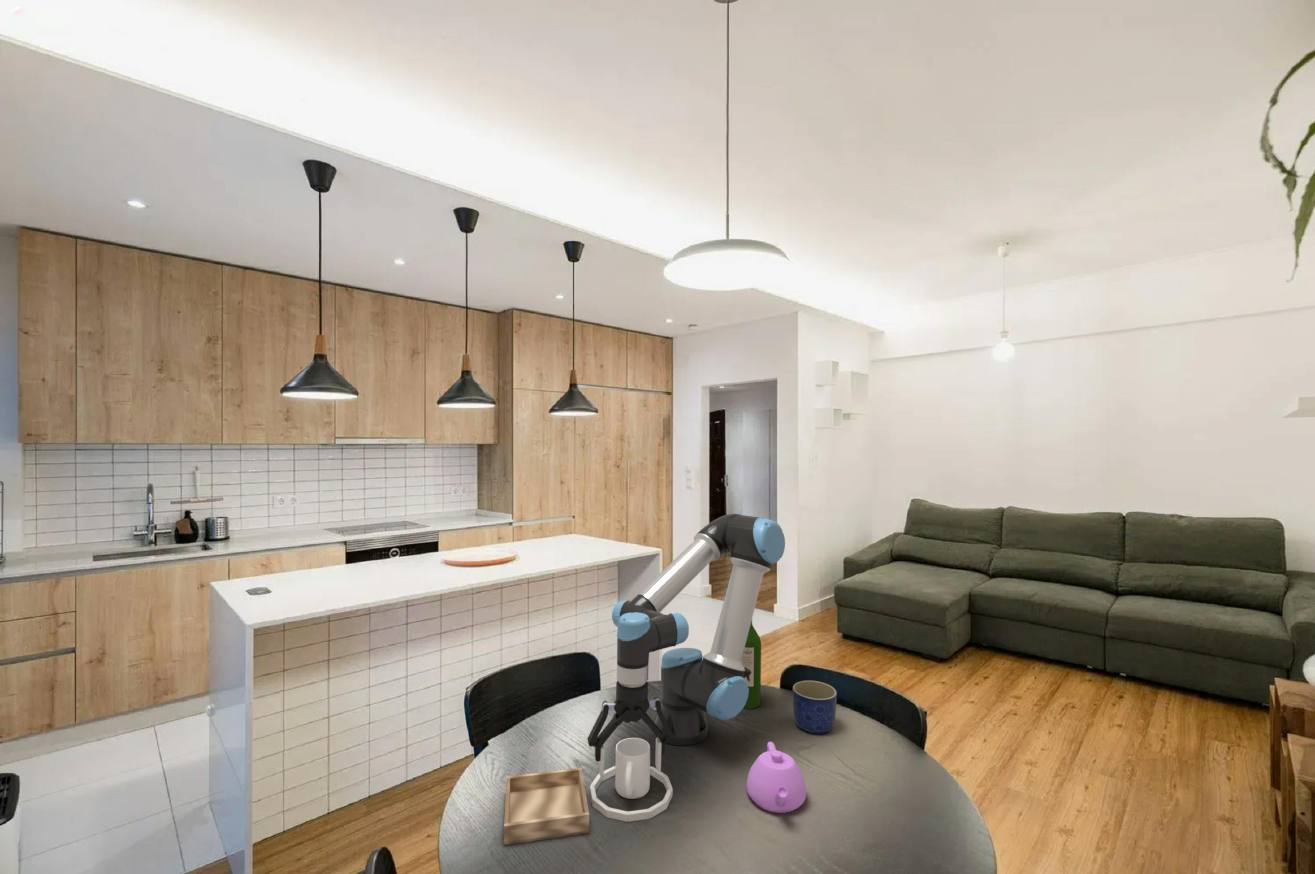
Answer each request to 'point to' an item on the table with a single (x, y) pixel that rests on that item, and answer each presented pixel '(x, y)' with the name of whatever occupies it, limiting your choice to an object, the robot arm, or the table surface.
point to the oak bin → (545, 806)
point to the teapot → (776, 782)
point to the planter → (814, 706)
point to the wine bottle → (752, 668)
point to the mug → (632, 768)
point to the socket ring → (631, 814)
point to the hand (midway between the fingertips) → (629, 770)
